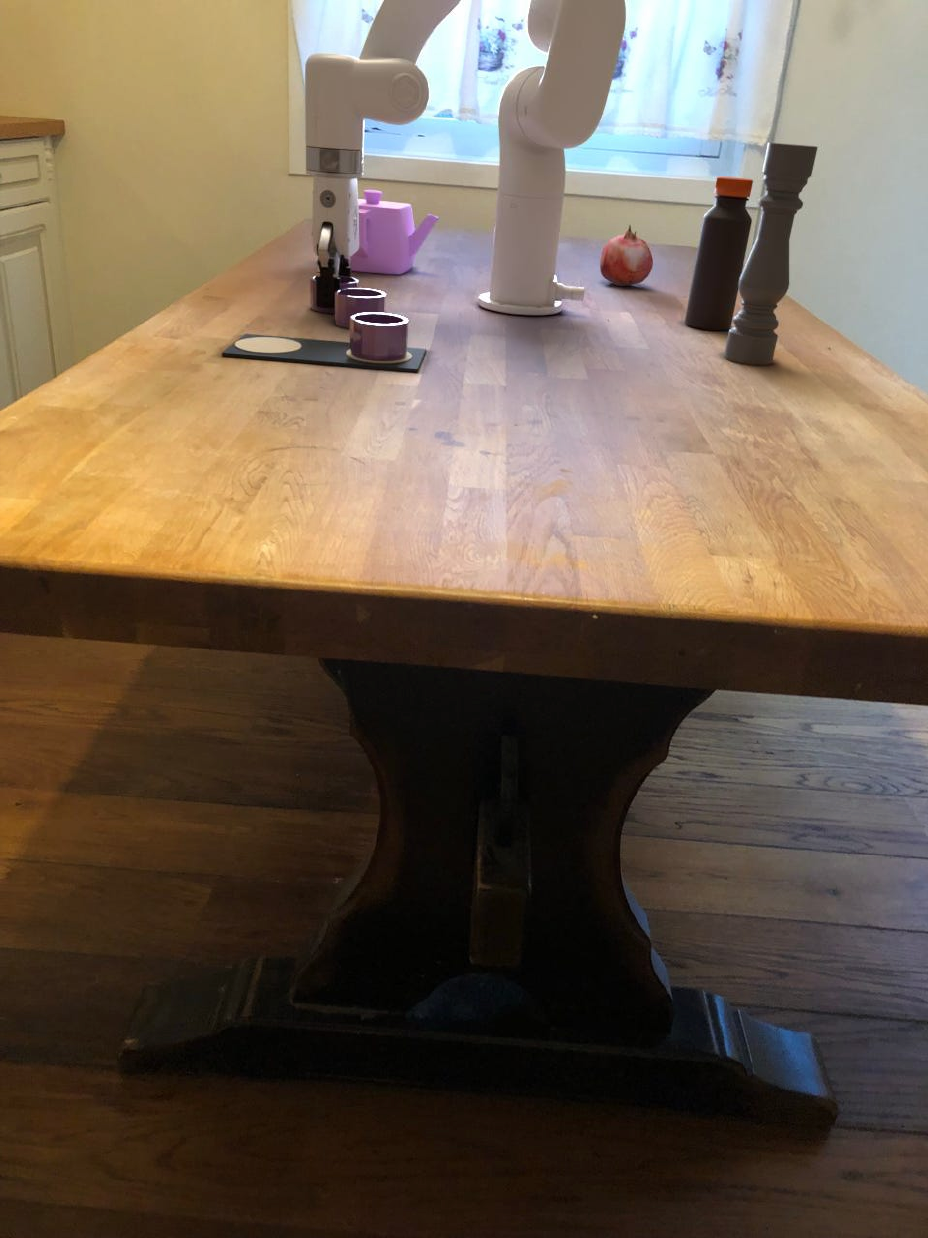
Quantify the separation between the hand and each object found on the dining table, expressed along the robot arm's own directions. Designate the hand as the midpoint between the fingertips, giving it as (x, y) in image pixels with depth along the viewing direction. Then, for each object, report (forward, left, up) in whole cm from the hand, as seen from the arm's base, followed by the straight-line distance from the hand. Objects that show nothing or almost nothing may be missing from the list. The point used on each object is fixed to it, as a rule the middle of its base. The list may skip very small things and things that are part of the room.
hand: (334, 301), depth 133 cm
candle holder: (-56, +10, -1) cm, 57 cm away
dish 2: (-5, +8, -1) cm, 10 cm away
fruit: (-44, -42, -1) cm, 61 cm away
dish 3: (-10, +26, -1) cm, 28 cm away
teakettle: (0, -39, -1) cm, 39 cm away
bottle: (-54, -10, -1) cm, 55 cm away
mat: (-4, +26, -1) cm, 26 cm away
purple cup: (0, 0, -1) cm, 1 cm away
